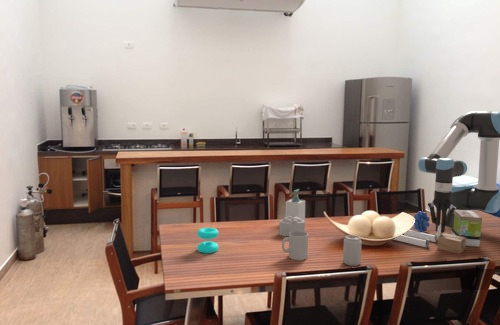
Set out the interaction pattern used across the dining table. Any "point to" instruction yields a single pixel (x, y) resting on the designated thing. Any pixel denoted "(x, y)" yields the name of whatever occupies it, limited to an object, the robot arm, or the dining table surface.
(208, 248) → the donuts
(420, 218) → the grapes
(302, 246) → the mug
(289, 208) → the soap bottle
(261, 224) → the dining table surface
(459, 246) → the block
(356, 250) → the can
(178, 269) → the dining table surface
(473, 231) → the tea box
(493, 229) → the dining table surface
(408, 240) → the white parallel rail frame
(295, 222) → the lumpy-topped squat cylinder
